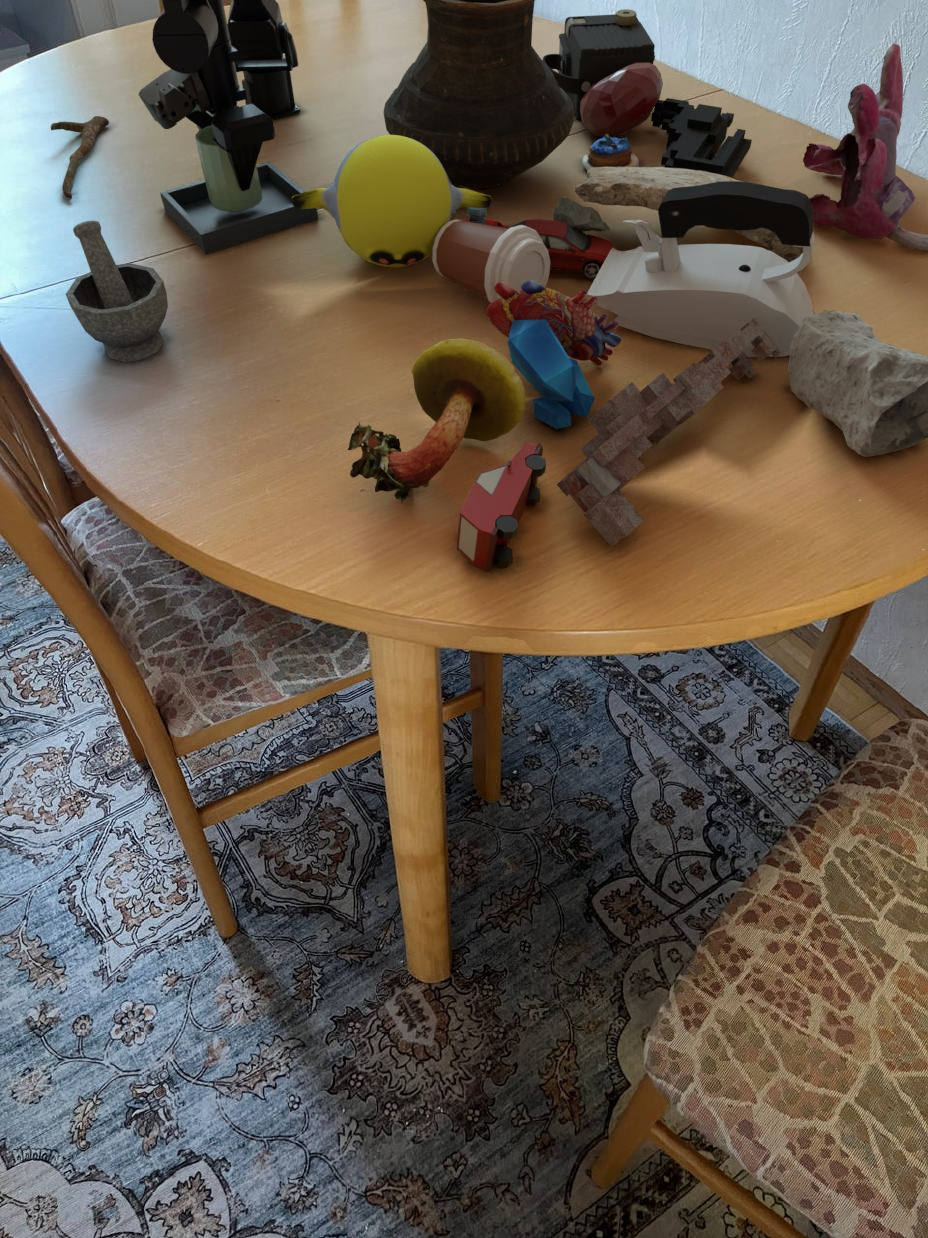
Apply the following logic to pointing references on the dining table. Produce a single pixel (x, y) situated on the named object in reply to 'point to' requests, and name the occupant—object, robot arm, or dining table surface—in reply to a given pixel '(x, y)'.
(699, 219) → the iron
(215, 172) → the cup
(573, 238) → the toy car
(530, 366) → the crystal
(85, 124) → the branch
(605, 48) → the camera
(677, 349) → the dining table surface
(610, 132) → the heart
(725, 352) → the sculpture
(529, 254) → the coffee cup
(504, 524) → the toy truck
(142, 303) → the mortar and pestle
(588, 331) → the anatomical model
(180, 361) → the dining table surface
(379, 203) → the toy
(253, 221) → the tray
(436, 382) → the mushroom
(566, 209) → the stone
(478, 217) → the button
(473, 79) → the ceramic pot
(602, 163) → the dessert
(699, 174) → the stone fragment
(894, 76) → the toy
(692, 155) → the tool
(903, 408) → the decorative stone
